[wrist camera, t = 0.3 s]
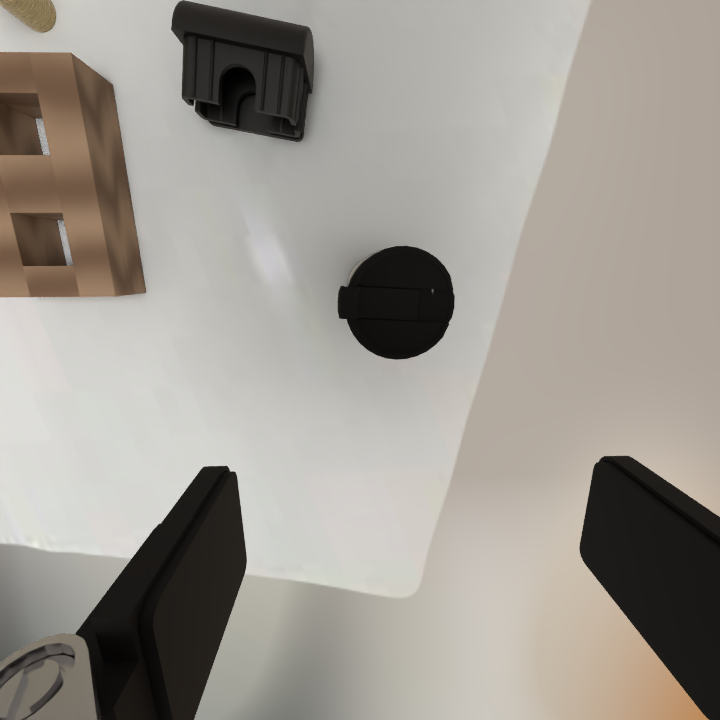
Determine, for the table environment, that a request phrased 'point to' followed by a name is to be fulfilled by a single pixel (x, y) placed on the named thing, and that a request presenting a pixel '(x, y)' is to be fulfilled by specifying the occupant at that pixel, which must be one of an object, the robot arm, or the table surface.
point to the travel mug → (398, 302)
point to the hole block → (63, 182)
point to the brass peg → (32, 13)
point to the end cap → (245, 69)
